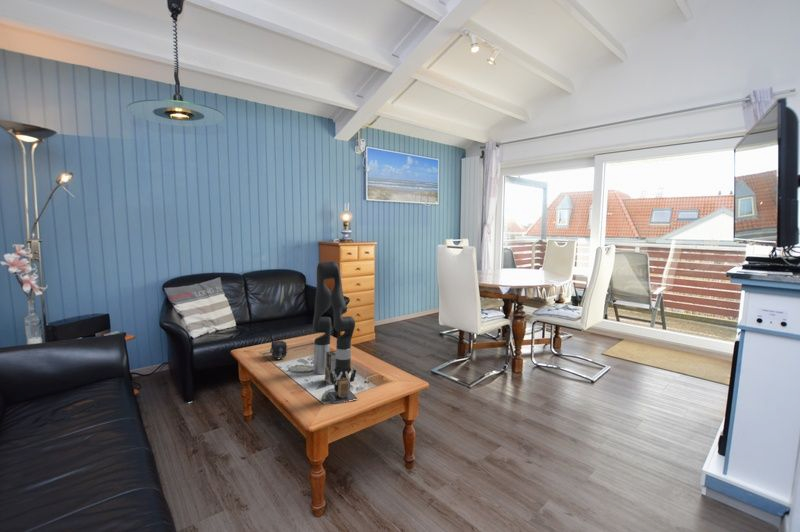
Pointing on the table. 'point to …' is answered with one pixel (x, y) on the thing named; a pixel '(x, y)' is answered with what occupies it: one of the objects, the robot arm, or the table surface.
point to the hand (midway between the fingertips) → (341, 390)
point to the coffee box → (330, 365)
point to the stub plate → (337, 399)
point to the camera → (278, 349)
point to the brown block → (343, 387)
